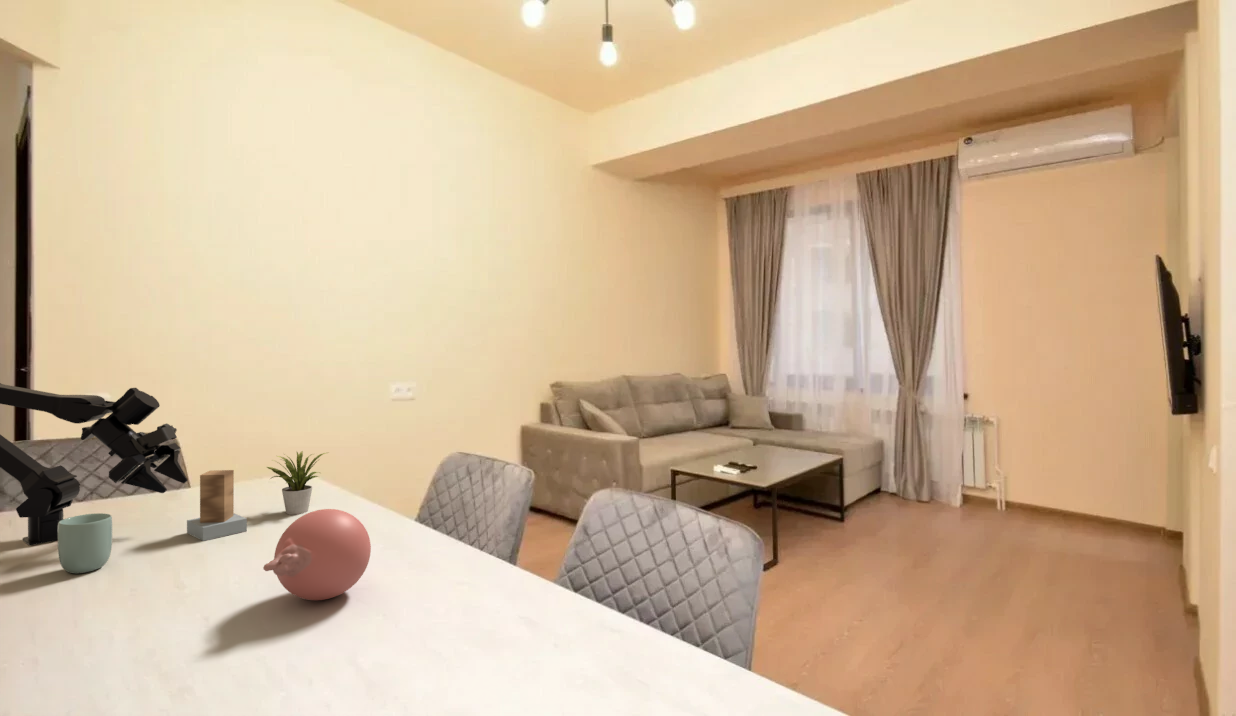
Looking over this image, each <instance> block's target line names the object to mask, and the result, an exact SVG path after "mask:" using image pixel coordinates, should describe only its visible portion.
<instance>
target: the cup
mask: <svg viewBox="0 0 1236 716" xmlns="http://www.w3.org/2000/svg"><path fill="white" fill-rule="evenodd" d="M112 546H113V515H111V514H110V513H103V512H101V513H99V512H97V513H85V514H79V515H75V516H70V517H67V518H63V520H61V521H59V522H58V540H57V552H58V553H57V554H58V559H59V560H58V561H59V564H60V566H61V568H62V569H63V570H64V571H66V572H68V573H71V574H85V573H90V572H93V571H96V570H99V569H100V568H102V567H104V566H105V565H106V564H107V563H108V561H109V559H110V557H111V553H112Z"/></svg>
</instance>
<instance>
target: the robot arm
mask: <svg viewBox="0 0 1236 716" xmlns="http://www.w3.org/2000/svg"><path fill="white" fill-rule="evenodd" d="M0 405H6V406H11V407H17V408H23V409H29V410H34V411H39V412H45V413H48V414H51V415H52V416H54V417H55V418H57V419H60V420H63V421H66V422H69V423H72V424H83V423H88V422H93V424H91V425H90V426H84V427H81V437H80V440H81V441H85V440H90V439H92V438H96V439H97V440H98V441H99V442H100V443H102V444H103V445H104V446H105V447H106V448H107V449H109V450H110V451H109V452H107V453H108V456H111V457H114V456H117V457H118V458H119V459H120V461H119V462H118V463H117V464H116V465H114V467H112V468H111V469H109V471H108V479H110V480H111V481H112V482H113V483H114V484H117V483H121V484H122V485H130V486H133V487H137V488H142V489H145V490H150V491H152V492H157V493H159V494H164V493H166V492H167V491H168V489H167V487H166V486H165V484H164V483H162V481H161V480H160V479H159V478H158V477H157V476H156V475H155V474H154V473H153V472H152V470H151V469H152V468H153V469H154V471H155V472H157V473H159V474H161V475H163V476H166V477H167V478H169V479H172V480H174V481H177V482H179V483H181V484H185V483H187V482H188V478H187V476H186V474H185V472H184V470H183V469H182V467H181V465H180V462H179V455H180V453H181V452H180V450H181V449H182V448H181V447H180V446H179V445H178V444H177V443H176V442H168V441H170V440H175V439H177V438H178V437H177V435H176V434H177V433H176V432H177V431H178V429H177V428H176V427H173V425H171V424H169V423H163V424H161V425H159V426H157V428H156V430H153V431H151V432H148V433H145V432H144V431H139V432H136V431H135V430H134V429H133V428H131V427H130V426H132V425H137V426H138V425H140V424H141V423H142V422H143V421H145V420H146V419H147V418H149V416H150V415H152V413H154V412H155V411H156V410H158V409H159V408H160V402H159V401H158V400H157V398H156V397H155V396H153V395H150V394H149V393H147V392H145V391H141V390H139V389H138V388H137V387H130V388H128V389H127V390H126V391H125V392H124V394H123V395H122V396H121V397H120V398H119V399H117V400H116V401H110V400H105V398H104V397H102V396H101V395H96V394H92V395H91V394H58V393H53V392H47V391H42V390H36V389H30V388H26V387H19V386H15V385H14V386H13V385H9V384H4V383H1V382H0ZM107 414H109V415H108V416H107V417H105V418H104V416H106V415H107ZM165 442H167V443H165ZM163 443H164V444H163ZM160 444H161V445H160ZM0 469H1V470H2V471H4V472H5V473H7V474H8V475H9V476H10V477H12V478H14V479H15V480H16V481H18V483H19V484H20V486H21V489H22V491H23V494H24V495H25V497H26V500H24V501H23V502H22V503H21V504H20V505H18V506H17V507H16V508H15V511H16V513H17V515H18V517H19V518H22V519H23V518H27V536H24V537H22V541H23V542H25V543H26V544H27V545H28V546H34V545H35V546H36V545H39V544H40V545H41V544H44V543H50V542H51V543H52V542H55V541H58V522H59V521H61V520H63V519H64V509H65V508H68V507H71V505H72V503H73V501H74V499H76V498H77V497H78V496H79V494H80V489H81V488H80V486H81V483H80V482H79V480H77V477H78V476H77V475H76V474H73V473H71V472H70V471H69V470H67V468H65V466H63V465H57V466H52V467H50V468H49V467H47V466H44V465H42V464H41V463H40V462H38V461H37V460H36V459H34V458H33V457H31V456H30V455H29V454H28V453H26V452H25V451H23V450H22V449H20V448H19V447H18V446H16V444H14V443H12V442H11V441H10V440H9V439H7V438H6V437H5V436H4V435H2V434H0Z"/></svg>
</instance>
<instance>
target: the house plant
mask: <svg viewBox="0 0 1236 716" xmlns="http://www.w3.org/2000/svg"><path fill="white" fill-rule="evenodd" d="M329 453H330V452H323V453H320V454H319V455H316V457H314V458H313V460H312V461H310V463H309V465H308V461H309V458H310V457H311V456H312V455H314V453H312V454H310V455H308V456H307V457H306V458H305V460H304V462H303V464H302V461H303V456H304V451H303V450H302V451H300V452H298V451H296V465H295V463H294V461H293V460H292V458H290V457H289V456H288V455H287V454H286V453H283V455H285V456H286V457H287V458H286V457H283V456H280V455H277V457H278V458H280V459H279V460H281V461H282V460H283V462H284V464H285V466H284V465H282V464H281V463H280V462H279V461H277V460H274V459H272V461H273V462H275V463H277V464H279V465H280V466H282V468H283V469H285V471H286V472H287V473H288V474H289V475H288V474H287V473H286V472H284V471H282V470H280V469H278V468H275V467H272V466H266V468H267V469H268V470H271V471H272V472H273V473H274V474H276V475H274V476H272V477H270V479H269V480H271V479H272V478H273V479H274V478H278V477H279V478H281V479H282V480H284V481H285V484H287V485H288V486H286V487H283V488H282V489H281V492H282V497H283V504H284V509H285V510H284V511H285V514H287V515H300V513H302V514H305V513H307V512H309V507H310V502H311V496H312V492H313V491H312V490H313V486H312V485H308V484H307V483H308V482H309V481H310V480H312V479H314V478H317V477H318V478H320V476H318V475H315V474H318V473H319V474H321V472H319V471H312V472H310V470H311V469H312V468H313V467H314V466H315V464H316V463H317V462H318V461H320V459H321V458H320V457H321V456H323V455H325V454H329ZM307 465H308V466H307ZM287 469H288V470H287ZM309 472H310V473H309ZM304 512H305V513H304Z"/></svg>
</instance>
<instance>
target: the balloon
mask: <svg viewBox="0 0 1236 716" xmlns="http://www.w3.org/2000/svg"><path fill="white" fill-rule="evenodd" d="M371 550H372V545H371V539H370V535H369V533H368V530H367V528H366V527H365V525H364V524H363V523H362V522H361V521H360V519H358V518H357V517H356V516H355V515H354V514H351V513H349V512H347V511H344V510H340V509H335V508H324V509H316V510H314V511H313V510H312V511H310V512H308V513H306V514H305V513H304V514H303V515H302V516H300V517H298V518H297V519H295V520H294V521H293V522H292V523H291V524H290V525H288V527H287V528H286V529H285V530H284V532H282V535H281V536H280V538H279V540H278V542H277V543H276V547H275V550H274V556H273V557H274V558H273V559H272V560H271V561H269V562H268V563H265V564H264V565H263V567H262V568H263V569H262V570H264V571H265V572H270V571H273V574H274V575H276V577H277V579H278V581H279V582H280V584H281V585H282V586H283V588H284V589H285V590H286V591H287V592H288V593H290V594H291V595H293V596H295V597H297V598H300V599H302V600H303V599H304V600H308V601H324V600H325V601H326V600H328V599H332V598H335V597H338V596H340V595H342V594H344V593H345V592H347V591H349V590H350V589H351V588H352V587H353V586H355V584H357V583H358V582H359V580H360V579H361V578H362V577H363V575H364V573H365V572H366V570H367V568H368V565H369V562H370V557H371V552H372V551H371Z"/></svg>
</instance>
